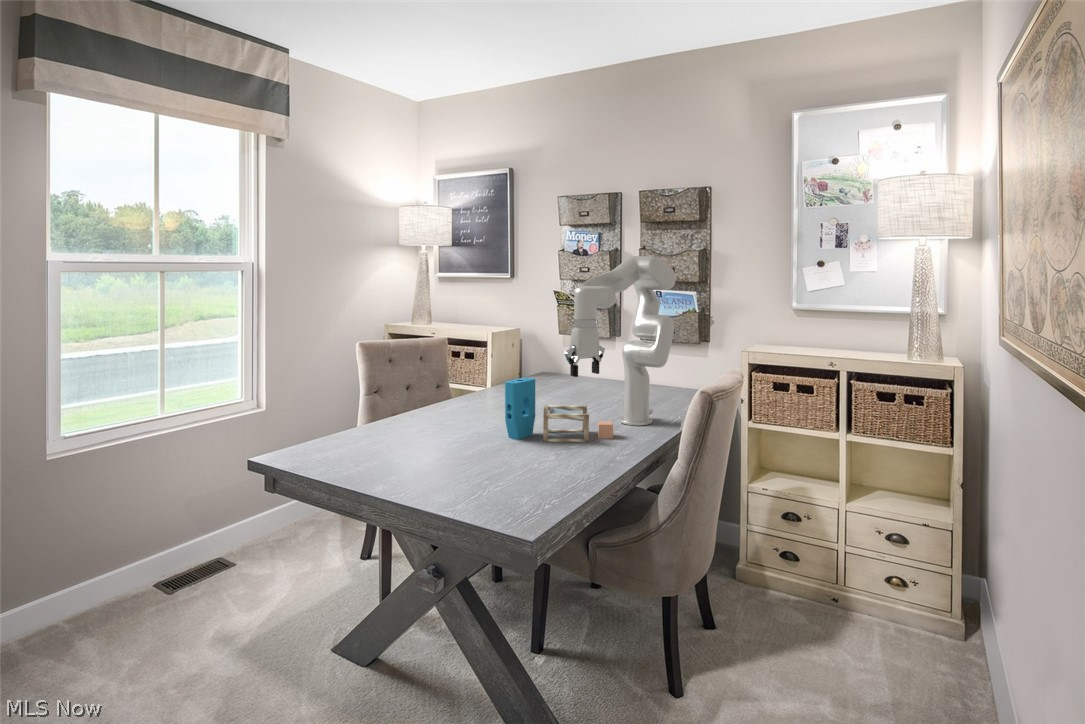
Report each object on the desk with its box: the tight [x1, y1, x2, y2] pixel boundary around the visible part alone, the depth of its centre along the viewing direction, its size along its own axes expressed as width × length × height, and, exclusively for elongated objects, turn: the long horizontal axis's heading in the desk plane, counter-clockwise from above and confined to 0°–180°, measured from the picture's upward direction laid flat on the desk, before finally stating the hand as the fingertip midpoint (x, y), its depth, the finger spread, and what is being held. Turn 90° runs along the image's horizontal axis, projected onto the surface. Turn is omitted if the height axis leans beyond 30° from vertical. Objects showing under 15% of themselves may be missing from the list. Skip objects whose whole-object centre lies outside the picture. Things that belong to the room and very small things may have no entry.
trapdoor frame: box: [542, 405, 590, 443], centre depth 225 cm, size 16×14×10 cm
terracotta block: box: [597, 420, 614, 439], centre depth 225 cm, size 5×5×5 cm
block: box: [504, 377, 536, 440], centre depth 224 cm, size 12×5×20 cm, turn 143°
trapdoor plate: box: [548, 407, 583, 422], centre depth 224 cm, size 12×10×1 cm
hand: (585, 374), depth 216 cm, fingers open, 9 cm apart
